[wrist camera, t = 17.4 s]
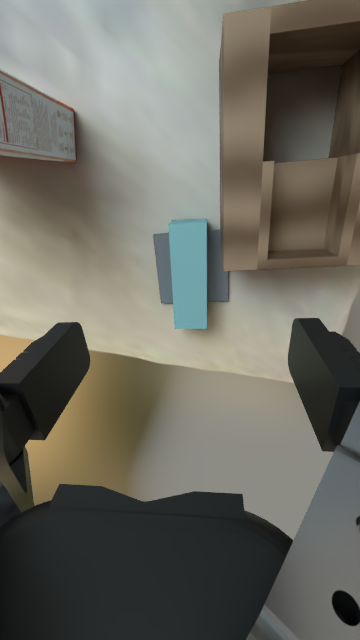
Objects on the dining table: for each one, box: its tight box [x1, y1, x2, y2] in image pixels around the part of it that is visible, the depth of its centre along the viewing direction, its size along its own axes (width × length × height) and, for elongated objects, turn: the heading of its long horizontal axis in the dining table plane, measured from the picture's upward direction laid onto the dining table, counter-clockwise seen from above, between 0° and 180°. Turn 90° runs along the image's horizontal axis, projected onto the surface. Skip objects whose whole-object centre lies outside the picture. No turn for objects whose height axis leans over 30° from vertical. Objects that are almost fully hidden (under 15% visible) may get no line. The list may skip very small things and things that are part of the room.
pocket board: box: [219, 0, 360, 271], centre depth 28 cm, size 20×16×9 cm
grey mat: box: [153, 230, 228, 303], centre depth 38 cm, size 10×10×1 cm
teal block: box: [168, 219, 207, 329], centre depth 36 cm, size 14×4×4 cm, turn 3°
